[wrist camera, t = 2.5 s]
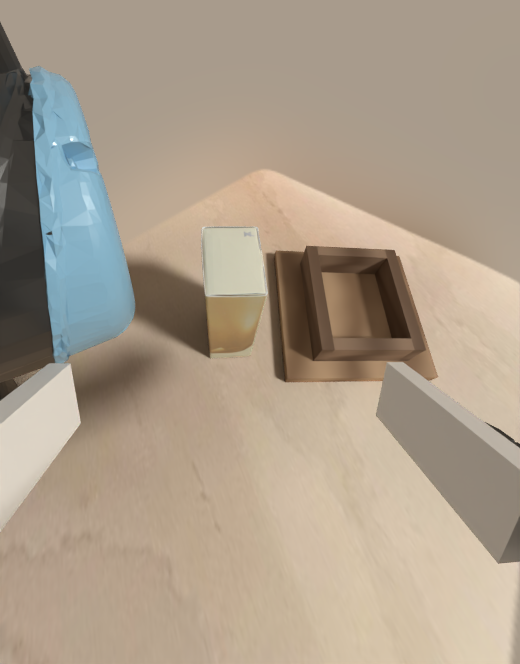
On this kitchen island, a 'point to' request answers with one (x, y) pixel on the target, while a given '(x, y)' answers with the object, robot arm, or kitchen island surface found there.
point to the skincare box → (232, 288)
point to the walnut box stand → (347, 315)
